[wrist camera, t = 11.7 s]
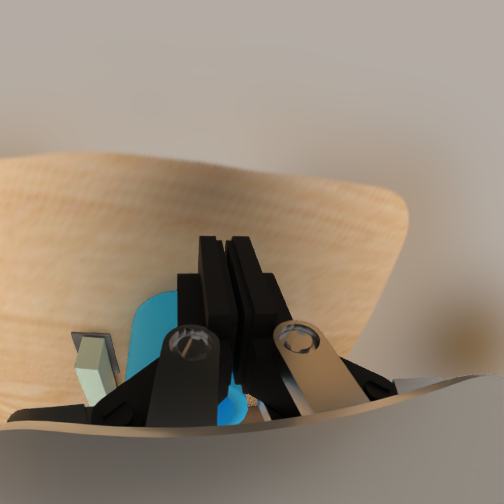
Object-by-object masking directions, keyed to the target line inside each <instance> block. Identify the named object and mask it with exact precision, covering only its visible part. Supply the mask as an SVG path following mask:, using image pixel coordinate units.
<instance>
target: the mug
mask: <svg viewBox="0 0 504 504" xmlns="http://www.w3.org/2000/svg"><path fill="white" fill-rule="evenodd" d="M176 327H177V291H172V292H166V293H161V294H159V295H157V296H155V297H152V298H150V299H148V300H147V301H146V302H145V303H144V304H143V305H142V306H141V307H139V308H138V310H137V312H136V314H135V317H134V319H133V324H132V330H131V338H130V345H129V353H128V361H127V370H126V380H125V381H127V380H128V379H130V378H131V377H132V376H134V375H135V374H136V373H138V372H139V371H141V370H142V369H143V368H145V367H146V366H147V365H149V364H150V363H151V362H153V361H154V360H155V359H157V358H158V357H160V352H161V348H162V344H163V340H164V338H165V336H166V334H167V333H168V332H170V331H171V330H172V329H174V328H176ZM247 411H248V405H247V399H246V395H245V394H243V393H242V388H241V385H235V382H234V377H233V372H232V377H231V385H229V390H228V396H227V397H226V398H225V399H224V400H223V401H222V402H221V403H220V404H219V405H218V413H217V426H222V425H234V424H239V423H240V422H241V421H242V420H243V419H244V418H245V416H246V413H247Z"/></svg>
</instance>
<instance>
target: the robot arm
mask: <svg viewBox="0 0 504 504" xmlns="http://www.w3.org/2000/svg"><path fill="white" fill-rule="evenodd" d="M232 372H233V377H234V382H235V385H241V388H242V393H243V394H249V395H251V396H253V397H254V398H256V399H258V406H259V409H260V412H261V414H262V416H263V418H264V420H265V421H264V422H255V423H246V424H234V425H222V426H217V413H218V405H219V404H220V403H221V402H222V401H223V400H224V399H225V398H226V397H227V396H228V390H229V385H231V377H232ZM0 504H504V377H503V376H499V375H495V374H472V375H466V376H460V377H455V378H452V379H446V378H442V377H431V378H410V379H393V381H392V382H390V381H389V380H387V379H386V378H384V377H383V376H380V375H378V374H376V373H374V372H371V371H369V370H367V369H365V368H363V367H361V366H359V365H357V364H354V363H352V362H350V361H348V360H346V359H344V358H342V357H340V356H338V354H337V353H336V352H335V350H334V349H333V347H332V346H331V344H330V343H329V342H328V340H327V339H326V337H325V336H324V334H323V333H322V332H321V331H320V330H319V329H318V328H317V327H315V326H314V325H312V324H310V323H307V322H304V321H298V320H293V319H292V317H291V314H290V312H289V310H288V307H287V305H286V302H285V300H284V298H283V295H282V293H281V291H280V288H279V286H278V284H277V281H276V279H275V276H274V275H273V273H262V270H261V267H260V265H259V262H258V259H257V257H256V254H255V252H254V249H253V246H252V244H251V241H250V238H249V237H248V236H232V239H231V240H226V245H225V252H224V248H223V243H222V240H216V236H199V258H198V274H177V327H176V328H174V329H172V330H171V331H170V332H168V333H167V334H166V336H165V338H164V340H163V344H162V348H161V352H160V357H158V358H157V359H155V360H154V361H153V362H151V363H150V364H149V365H147V366H146V367H145V368H143V369H142V370H141V371H139V372H138V373H136V374H135V375H134V376H132V377H131V378H130V379H128V380H127V381H125V382H124V383H123V384H121V385H120V386H118V387H117V388H116V389H114V390H113V391H112V392H110V393H109V394H107V395H106V396H105V397H103V398H102V399H101V400H100V401H99V402H97V403H96V404H95V406H90V407H85V405H84V404H76V405H67V406H56V407H44V408H30V409H22V410H18V411H16V412H15V413H13V414H12V415H11V416H10V417H9V419H8V421H7V423H1V424H0Z"/></svg>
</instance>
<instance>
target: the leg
mask: <svg viewBox="0 0 504 504" xmlns="http://www.w3.org/2000/svg"><path fill="white" fill-rule="evenodd" d="M74 369H75V371H76V374H77V377H78V379H79V382H80V384H81V387H82V389H83V392H84V394H85V396H86V399H87V401H88V403H89V406H95V404H96V403H97V402H99V401H100V400H101V399H102V398H103V397H105V396H106V395H107V394H109V393H110V392H112V391H113V390H114V389H116V388H117V386H116V382H115V379H114V375H113V371H112V368H111V364H110V360H109V356H108V352H107V347H106V343H105V339H104V338H93V337H82V340H81V344H80V348H79V351H78V355H77V359H76V363H75V367H74Z"/></svg>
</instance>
